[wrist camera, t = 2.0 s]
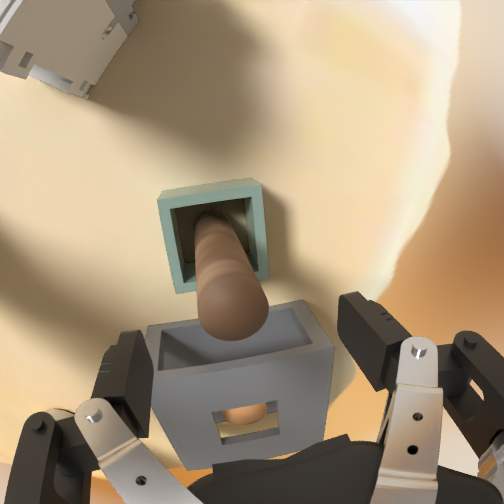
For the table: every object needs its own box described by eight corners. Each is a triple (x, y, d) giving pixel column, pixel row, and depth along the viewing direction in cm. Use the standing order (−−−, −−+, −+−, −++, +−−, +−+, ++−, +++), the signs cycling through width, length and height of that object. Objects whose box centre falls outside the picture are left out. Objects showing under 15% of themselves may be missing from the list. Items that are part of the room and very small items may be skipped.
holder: (177, 273, 27) (175, 293, 23) (162, 191, 24) (157, 200, 21) (259, 260, 28) (269, 278, 24) (251, 178, 25) (261, 184, 22)
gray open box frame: (184, 421, 34) (187, 470, 27) (147, 325, 28) (139, 381, 21) (302, 399, 37) (322, 444, 29) (303, 299, 31) (334, 346, 23)
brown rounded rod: (197, 246, 27) (204, 346, 14) (191, 211, 25) (192, 287, 13) (232, 241, 27) (270, 334, 14) (228, 206, 26) (266, 275, 13)
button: (223, 407, 30) (226, 427, 27) (216, 381, 28) (219, 402, 26) (262, 400, 31) (268, 420, 28) (259, 373, 29) (265, 394, 26)
